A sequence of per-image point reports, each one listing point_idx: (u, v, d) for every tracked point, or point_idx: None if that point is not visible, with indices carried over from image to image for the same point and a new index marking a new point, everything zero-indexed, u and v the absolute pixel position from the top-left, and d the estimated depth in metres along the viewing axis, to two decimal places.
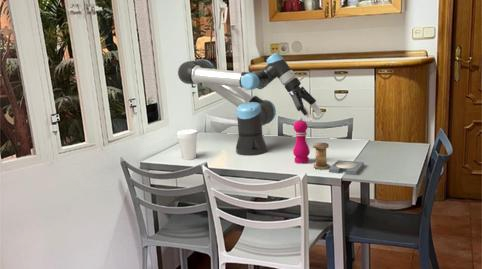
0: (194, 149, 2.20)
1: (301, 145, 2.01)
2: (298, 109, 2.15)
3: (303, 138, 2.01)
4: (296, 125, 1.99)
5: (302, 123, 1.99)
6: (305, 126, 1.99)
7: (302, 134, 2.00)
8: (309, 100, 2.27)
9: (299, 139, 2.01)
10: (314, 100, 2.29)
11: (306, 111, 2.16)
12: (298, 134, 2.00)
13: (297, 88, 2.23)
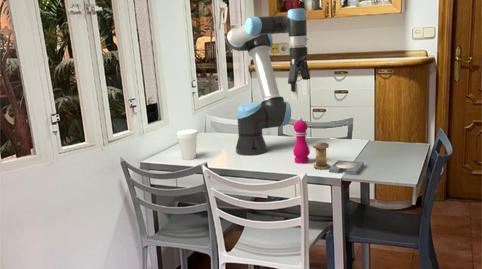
0: (194, 149, 2.20)
1: (301, 145, 2.01)
2: (289, 82, 1.89)
3: (303, 138, 2.01)
4: (296, 125, 1.99)
5: (302, 123, 1.99)
6: (305, 126, 1.99)
7: (302, 134, 2.00)
8: (304, 75, 2.02)
9: (299, 139, 2.01)
10: (308, 77, 2.04)
11: (295, 88, 1.91)
12: (298, 134, 2.00)
13: (300, 58, 1.95)
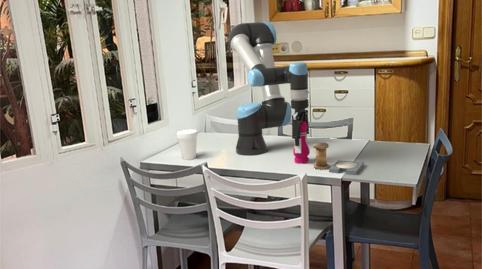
0: (194, 149, 2.20)
1: (301, 145, 2.01)
2: None
3: (303, 138, 2.01)
4: None
5: (302, 123, 1.99)
6: (305, 126, 1.99)
7: (302, 134, 2.00)
8: None
9: None
10: (307, 132, 2.06)
11: (299, 143, 1.99)
12: None
13: (302, 110, 1.99)
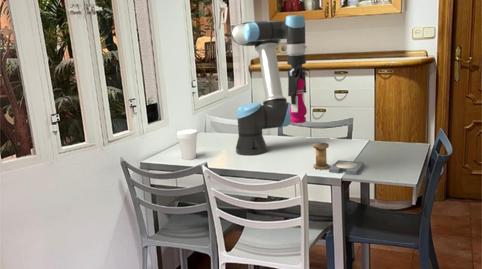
0: (194, 149, 2.20)
1: None
2: (289, 95, 1.86)
3: (300, 96, 1.90)
4: None
5: (299, 80, 1.88)
6: (302, 83, 1.88)
7: (299, 92, 1.89)
8: None
9: None
10: (304, 90, 1.95)
11: (295, 101, 1.88)
12: None
13: (298, 66, 1.88)
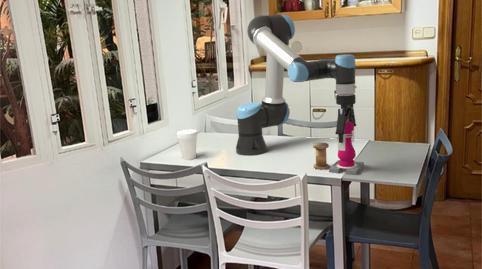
0: (194, 149, 2.20)
1: (347, 147, 1.86)
2: (337, 133, 1.79)
3: (349, 140, 1.86)
4: None
5: (349, 123, 1.84)
6: (352, 127, 1.84)
7: (348, 135, 1.85)
8: None
9: (345, 141, 1.86)
10: (354, 124, 1.93)
11: (343, 139, 1.81)
12: None
13: (348, 106, 1.84)
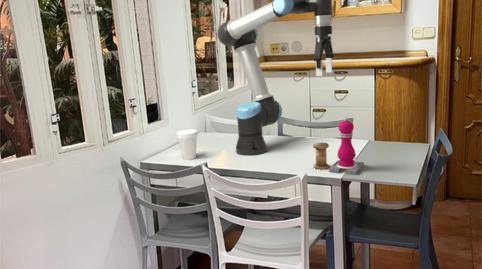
0: (194, 149, 2.20)
1: (346, 147, 1.86)
2: (315, 59, 1.98)
3: (349, 140, 1.86)
4: (342, 126, 1.84)
5: (348, 123, 1.84)
6: (352, 127, 1.84)
7: (348, 135, 1.85)
8: (328, 53, 2.10)
9: (345, 141, 1.86)
10: (332, 55, 2.12)
11: (320, 65, 2.00)
12: (344, 135, 1.85)
13: (325, 36, 2.03)
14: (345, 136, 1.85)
